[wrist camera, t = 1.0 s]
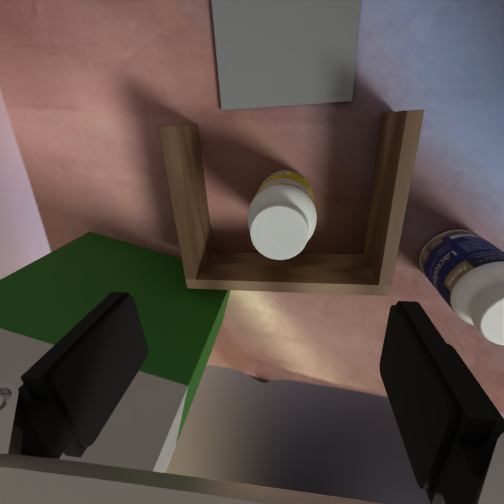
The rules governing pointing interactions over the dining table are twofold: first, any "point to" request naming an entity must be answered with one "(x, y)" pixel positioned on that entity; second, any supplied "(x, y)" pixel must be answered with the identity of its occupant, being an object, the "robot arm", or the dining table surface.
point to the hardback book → (154, 327)
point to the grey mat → (285, 51)
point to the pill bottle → (468, 279)
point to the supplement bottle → (282, 215)
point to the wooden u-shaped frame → (303, 264)
